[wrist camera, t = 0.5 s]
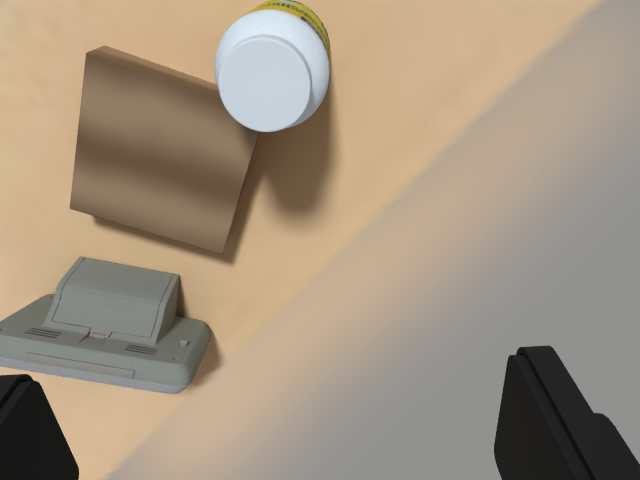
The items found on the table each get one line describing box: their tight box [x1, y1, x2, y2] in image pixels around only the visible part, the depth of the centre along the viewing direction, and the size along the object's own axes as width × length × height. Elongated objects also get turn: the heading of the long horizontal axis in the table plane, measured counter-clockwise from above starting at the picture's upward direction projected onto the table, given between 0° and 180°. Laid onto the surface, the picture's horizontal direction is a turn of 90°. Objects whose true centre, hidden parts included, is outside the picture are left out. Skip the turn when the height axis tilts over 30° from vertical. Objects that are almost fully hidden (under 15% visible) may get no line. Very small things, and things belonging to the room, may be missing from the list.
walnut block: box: [70, 46, 260, 254], centre depth 37 cm, size 12×12×3 cm
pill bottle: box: [215, 0, 330, 132], centre depth 30 cm, size 6×6×12 cm
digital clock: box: [0, 257, 210, 394], centre depth 42 cm, size 16×9×11 cm, turn 66°
